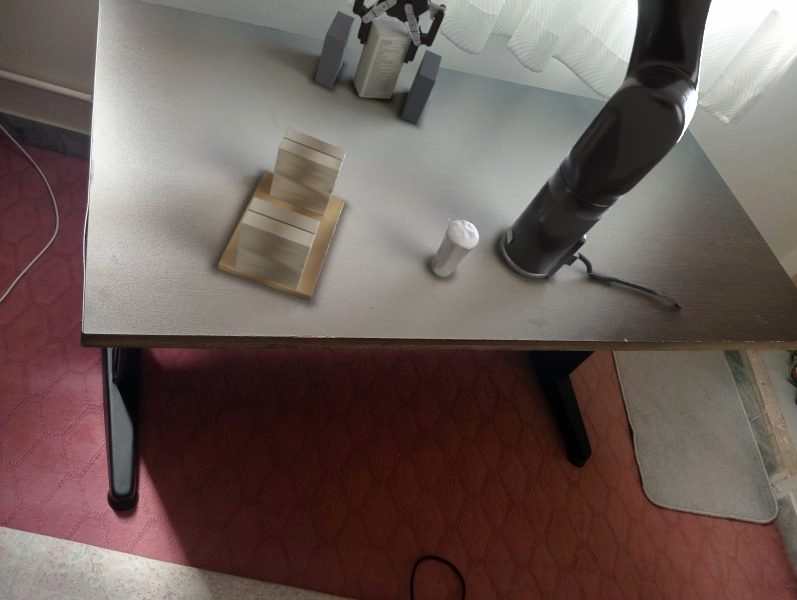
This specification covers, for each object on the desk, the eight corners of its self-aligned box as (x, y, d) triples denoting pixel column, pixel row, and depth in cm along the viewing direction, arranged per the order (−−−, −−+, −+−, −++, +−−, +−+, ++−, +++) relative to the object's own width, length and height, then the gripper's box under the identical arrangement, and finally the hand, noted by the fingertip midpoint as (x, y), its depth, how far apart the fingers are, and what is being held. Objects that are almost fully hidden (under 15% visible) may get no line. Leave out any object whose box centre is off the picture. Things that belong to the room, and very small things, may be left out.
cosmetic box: (383, 83, 99) (405, 22, 89) (390, 100, 97) (414, 39, 87) (351, 81, 96) (370, 17, 87) (358, 98, 94) (378, 34, 85)
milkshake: (421, 251, 80) (448, 206, 72) (454, 259, 81) (484, 216, 73) (421, 275, 77) (448, 232, 69) (455, 283, 79) (486, 242, 71)
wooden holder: (343, 205, 80) (361, 155, 72) (309, 300, 69) (326, 254, 61) (264, 175, 78) (274, 120, 70) (217, 268, 67) (222, 217, 59)
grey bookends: (423, 98, 100) (442, 56, 93) (416, 124, 96) (435, 81, 89) (326, 57, 97) (338, 10, 90) (314, 81, 93) (325, 34, 85)
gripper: (367, -62, 74) (338, 45, 87) (462, -18, 76) (420, 80, 89) (377, -82, 78) (349, 23, 91) (467, -40, 81) (427, 57, 94)
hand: (384, 51), depth 90 cm, fingers closed on cosmetic box, 7 cm apart
